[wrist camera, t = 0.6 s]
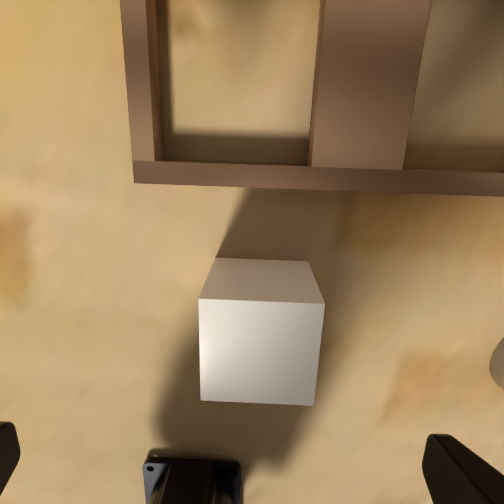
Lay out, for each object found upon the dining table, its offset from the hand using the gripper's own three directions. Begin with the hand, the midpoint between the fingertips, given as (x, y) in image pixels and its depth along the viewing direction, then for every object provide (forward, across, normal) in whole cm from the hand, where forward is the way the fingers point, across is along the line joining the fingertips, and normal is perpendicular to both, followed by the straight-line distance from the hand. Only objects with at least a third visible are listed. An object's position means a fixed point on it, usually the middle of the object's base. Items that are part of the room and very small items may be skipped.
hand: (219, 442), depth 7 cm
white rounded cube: (+11, -1, +2) cm, 11 cm away
